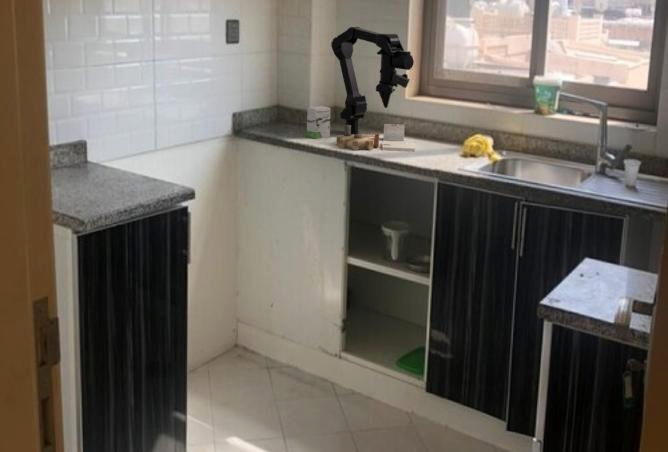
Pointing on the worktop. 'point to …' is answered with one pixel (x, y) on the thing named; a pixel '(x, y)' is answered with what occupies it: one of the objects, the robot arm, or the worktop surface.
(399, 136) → the marked link
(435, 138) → the worktop surface
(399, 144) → the pad
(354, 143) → the sprocket
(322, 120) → the ink box
